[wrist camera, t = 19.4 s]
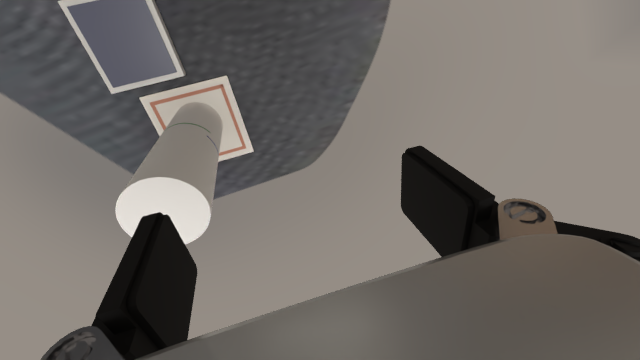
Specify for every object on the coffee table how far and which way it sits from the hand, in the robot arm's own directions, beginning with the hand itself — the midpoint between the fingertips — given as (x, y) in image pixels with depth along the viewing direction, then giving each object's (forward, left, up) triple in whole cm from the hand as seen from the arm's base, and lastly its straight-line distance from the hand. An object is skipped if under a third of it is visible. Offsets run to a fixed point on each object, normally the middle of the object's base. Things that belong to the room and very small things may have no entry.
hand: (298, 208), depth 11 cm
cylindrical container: (+5, -11, -38) cm, 40 cm away
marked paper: (+6, -10, -38) cm, 40 cm away
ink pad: (-8, -14, -38) cm, 41 cm away
